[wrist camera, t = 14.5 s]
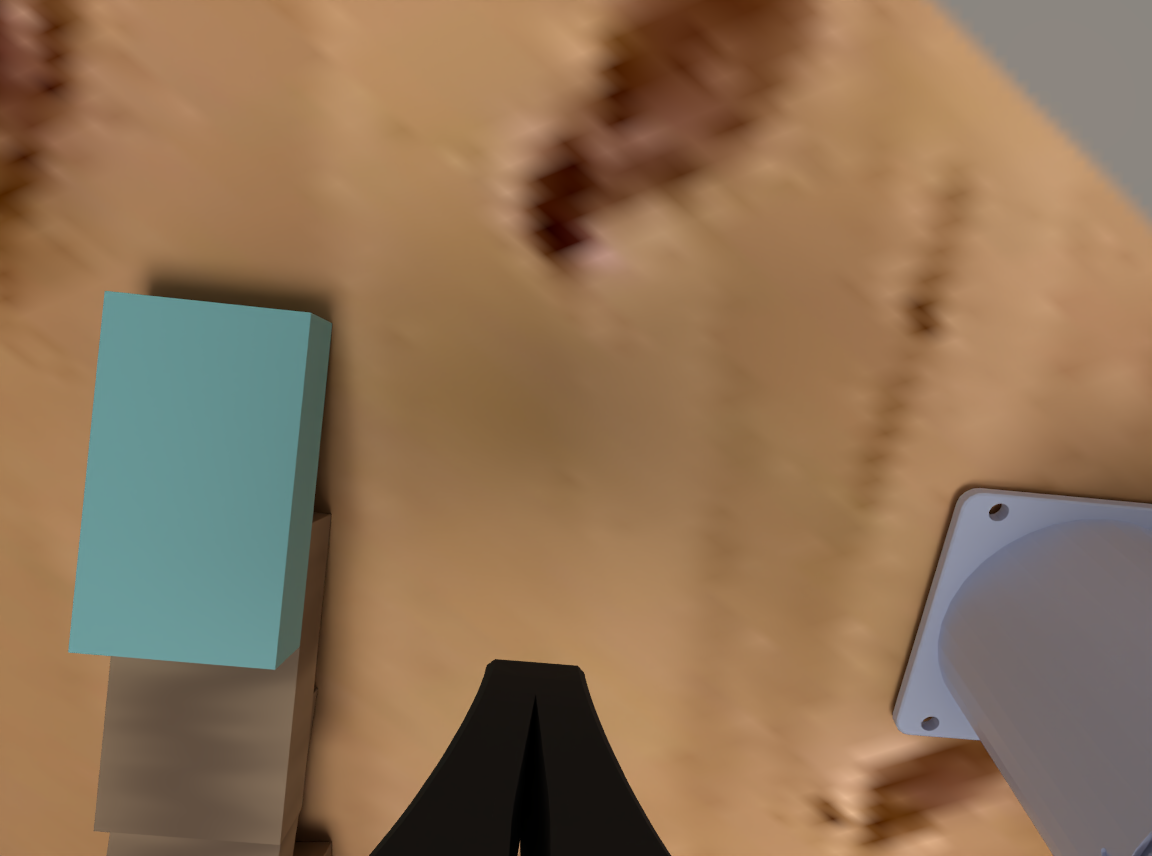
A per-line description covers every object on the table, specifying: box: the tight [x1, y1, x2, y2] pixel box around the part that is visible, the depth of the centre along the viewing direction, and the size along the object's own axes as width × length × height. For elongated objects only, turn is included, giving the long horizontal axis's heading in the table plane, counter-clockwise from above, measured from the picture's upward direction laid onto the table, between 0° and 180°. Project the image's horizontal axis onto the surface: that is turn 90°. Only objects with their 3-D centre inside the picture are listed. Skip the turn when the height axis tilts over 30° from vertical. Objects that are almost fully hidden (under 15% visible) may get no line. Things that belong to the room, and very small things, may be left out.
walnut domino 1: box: [94, 512, 331, 845], centre depth 22 cm, size 4×2×8 cm
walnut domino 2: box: [107, 688, 318, 856], centre depth 24 cm, size 4×2×8 cm
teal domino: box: [68, 291, 332, 670], centre depth 20 cm, size 4×2×8 cm
